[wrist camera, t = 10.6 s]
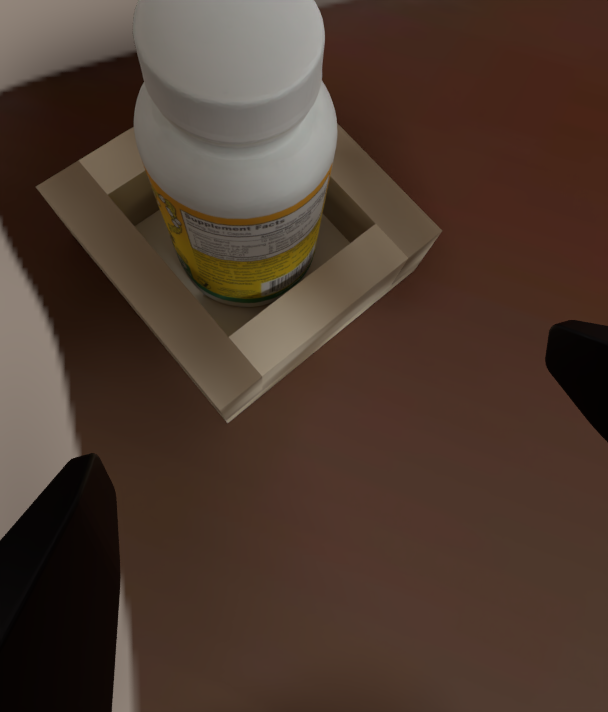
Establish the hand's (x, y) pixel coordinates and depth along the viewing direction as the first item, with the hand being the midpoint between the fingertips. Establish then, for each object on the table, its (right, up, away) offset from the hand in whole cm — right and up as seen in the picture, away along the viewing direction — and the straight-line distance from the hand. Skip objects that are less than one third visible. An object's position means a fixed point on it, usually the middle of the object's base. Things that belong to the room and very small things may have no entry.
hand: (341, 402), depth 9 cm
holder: (-3, +5, +11) cm, 12 cm away
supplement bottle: (-3, +5, +10) cm, 12 cm away
